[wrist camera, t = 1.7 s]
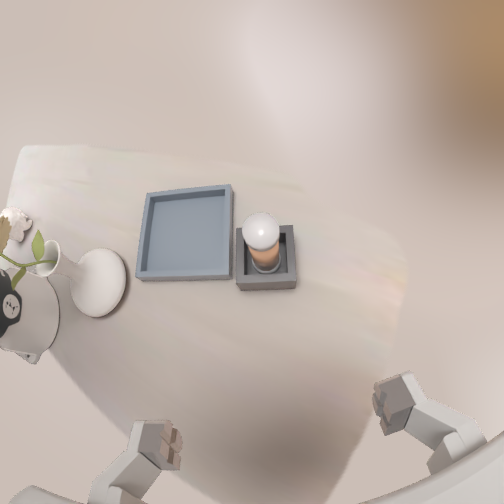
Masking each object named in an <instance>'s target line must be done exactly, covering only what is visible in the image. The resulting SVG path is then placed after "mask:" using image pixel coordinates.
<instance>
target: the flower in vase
mask: <svg viewBox="0 0 504 504" xmlns="http://www.w3.org/2000/svg"><path fill="white" fill-rule="evenodd" d="M9 225H10V221H8V217H6V218H5V217H4V215H3V216H1V217H0V256H2V257H3V258H5V259H6V260H8V261H9V262H11V263H13V264H14V265H16V266H19V267H22V268H21V269H20V270H19V271H18V272H17V273H16V274H15V276H14V277H13V278H12V281H11V286H12V289H13V291H14V289H15V287H16V285H17V283H18V282H19V281H20V279H21V278H22V277H23V276H24V275H25V273H26V267H28V266H32V265H36V270H37V272H38V274H39V275H40V276H42V277H47V276H50V275H51V274H61V275H65V276H67V277H69V278H71V295H72V298H73V301H74V303H75V305H76V306H77V307H78V308H79V310H80V311H81V312H83V313H84V314H85V315H87V316H90V317H101V316H104V315H106V314H108V313H109V312H110V311H112V310H113V309H114V308H115V307H116V305H117V304H118V303H119V301H120V299H121V297H122V295H123V292H124V289H125V284H126V272H125V267H124V264H123V262H122V260H121V258H120V257H119V255H118V254H117V253H115V252H114V251H112V250H110V249H106V248H97V249H93V250H91V251H89V252H87V253H86V254H85V255H83V256H82V257H81V259H80V260H79V261H78V262H77V264H76V263H74V262H72V261H70V260H69V259H67V258H66V257H65V256H64V255H63V254H62V252H61V250H60V246H59V244H58V242H57V241H55V240H48V241H46V242H45V243H44V241H43V238H42V235H41V233H40V231H39V230H38V231H37V233H36V235H35V237H34V239H33V242H32V251H33V254H34V257H35V259H36V262H33V263H29V264H18V263H16V262H14V261H13V260H11V259H9V258H8V257H6V256H5V255H3V254H2V253H3V249H4V248H5V247H6V245H7V241H8V239H9V236H10V235H9V233H10V231H11V229H12V226H11V225H10V226H9Z"/></svg>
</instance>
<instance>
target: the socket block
mask: <svg viewBox="0 0 504 504" xmlns="http://www.w3.org/2000/svg"><path fill="white" fill-rule="evenodd" d="M279 233H280V236H279V253H280V257H281V264H280V267H279V269H278V270H277V271H276V272H275V273H273V274H260V273H258V272H257V271H256V270H255V268H254V265H253V263H252V256H251V253H250V250H249V247H248V245H247V244H246V242H245V240H244V237H243V234H242V228H236V284H237V285H238V287H239V288H240V290H241V291H246V290H273V289H295V286H296V265H295V249H294V235H293V225H286V226H279Z"/></svg>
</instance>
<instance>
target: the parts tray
mask: <svg viewBox="0 0 504 504" xmlns="http://www.w3.org/2000/svg"><path fill="white" fill-rule="evenodd" d="M232 236H233V190H232V187H231V184H227V185H216V186H205V187H195V188H186V189H177V190H169V191H161V192H153V193H147V195H146V201H145V206H144V213H143V219H142V226H141V232H140V240H139V248H138V256H137V265H136V274H135V277H136V278H138V279H140V280H142V281H180V280H218V279H232Z"/></svg>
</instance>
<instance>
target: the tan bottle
mask: <svg viewBox="0 0 504 504" xmlns="http://www.w3.org/2000/svg"><path fill="white" fill-rule="evenodd" d="M242 234H243V237H244V240H245V242H246V244H247V245H248V247H249V250H250V253H251V256H252V263H253V265H254V268H255V270H256V271H257V272H258V273H260V274H273V273H275V272H276V271H277V270H278V269H279V267H280V264H281V257H280V253H279V236H280V233H279V224H278V222H277V220H276V219H275V218H274V217H273V216H272V215H270V214H268V213H263V212H259V213H255V214H252V215H250V216H249V217H248V218H247V219H246V220H245V221H244V223H243V226H242Z"/></svg>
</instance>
